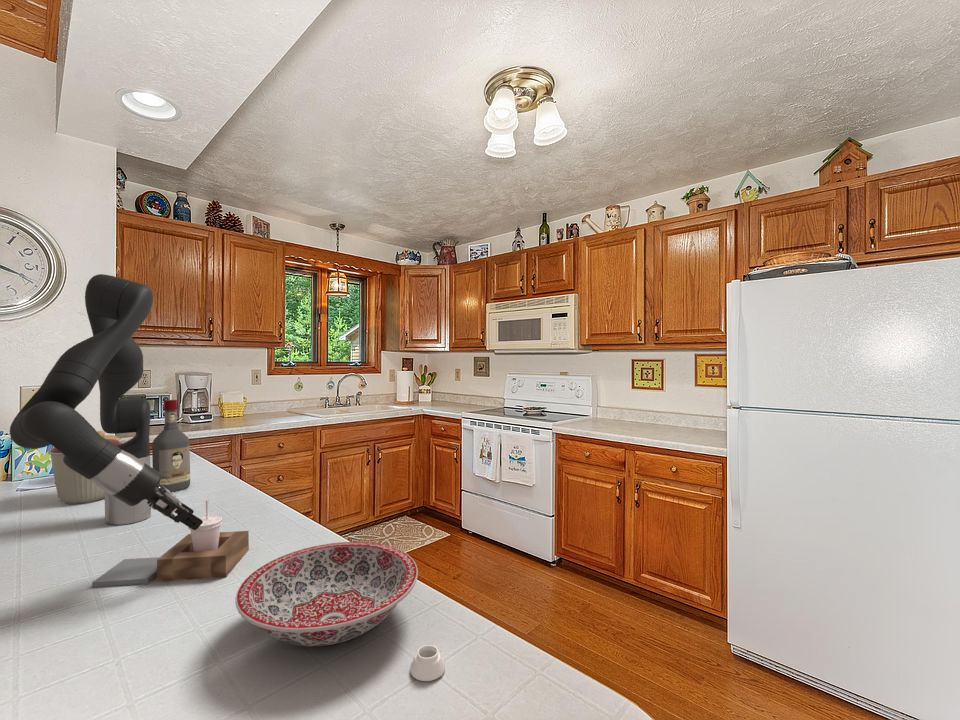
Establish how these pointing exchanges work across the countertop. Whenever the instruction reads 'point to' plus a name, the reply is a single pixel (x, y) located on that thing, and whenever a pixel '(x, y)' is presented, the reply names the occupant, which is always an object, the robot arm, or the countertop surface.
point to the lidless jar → (427, 664)
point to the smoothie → (207, 532)
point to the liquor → (172, 452)
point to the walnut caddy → (202, 558)
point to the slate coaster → (129, 573)
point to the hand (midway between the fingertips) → (194, 520)
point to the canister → (74, 481)
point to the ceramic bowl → (326, 592)
